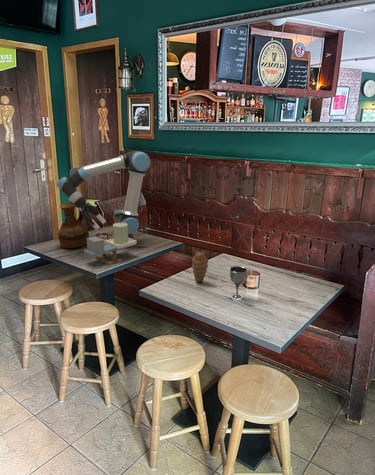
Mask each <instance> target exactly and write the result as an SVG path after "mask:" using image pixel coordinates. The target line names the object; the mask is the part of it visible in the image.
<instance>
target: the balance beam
mask: <svg viewBox="0 0 375 475" xmlns="http://www.w3.org/2000/svg"><path fill="white" fill-rule="evenodd" d="M128 241H129V242H128V243H124V244H120V245H118V244H114V238H113V237H112V238H110V239H106V240H104V238H101V237H99V236H91V237H90V236H89V238H87V243H86V245H87V246H86V247H87V249H83V253H85V254H86V255H88V256H91V257H96V256H100V255H102V254H105V253H106V254H107V253H112V250H116V251H119V250H122V249H127V248H129V247H133V246H135V245H137V239H134V240H133V239H131V238H128Z"/></svg>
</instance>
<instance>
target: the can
mask: <svg viewBox="0 0 375 475" xmlns="http://www.w3.org/2000/svg"><path fill="white" fill-rule="evenodd" d="M112 229H113V231H112V232H113V234H112V235H113V236H114V244H118V245H120V244H124V243H128V242H129V241H128V224H127V223H115V224H114V223H113V224H112Z"/></svg>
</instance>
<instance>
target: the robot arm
mask: <svg viewBox="0 0 375 475" xmlns="http://www.w3.org/2000/svg"><path fill="white" fill-rule="evenodd" d="M150 166H151V159H150V157H149V155H148V154H147V153H145V152H143V151H139V150H130V151H128V152H125V153H122V154H120V155H119V156H117V157H113V158H109V159H106V160H102V161H98V162H95V163H91V164H86V165H83V166H80V167H72V168H71V169H70V170H69V177H66V176H64V177H62V178H60V179H59V180H58V181H57V182H56V186H57V187H58V189H59V190H60V191H61V192H62V194H64V196H66V197H67V199H69V202H70V203H74V205H75V206H76V207H75V208H76V209H78V212H79V211H80V212H81V214H82V216H83V219H84V221H85V222H86V223H89V224H90V225H91V227H93V228H94V229H95V231H97V230H99V228H100V226H99V225H98V223H96V221H95V220H94V219H93V218H92V217H91V215H90V214H93V215H94V216H95V218H97V219H98V220H99V222H101V224H102V225H104V224H105V223H106V222H107V221H106V219H105V218H104V217H103V216H102V215H101V211H100V210H99V209H97V208H96V207H94V205H92V204H91V203H90V202H87V199H86V198H85V197H84V196H83V194H82V193H81V192H80V191H79V190H78V189H77V188H78V187H79V186H80V185H82V184H83V183H84V182H85V181H86V180H88V179H89V178H91V177H93V176H98V175H101V174H105V173H108V172H111V171H115V170H119V169H123V170H125V169H128V173H129V179H128V185H127V190H126V196H125V201H124V202H125V203H124V208H123V209H117V210H114V211H113V219H114V220H113V222H114V223H113V224H115V223H127V224H128V238H131V239H133V240H135V237H134V234H135V233H136V232H137V231H138V229H139V226H140V222H139V221H138V220H139V213H138V206H139V203H140V202H139V201H140V196H141V191H142V184H143V179H144V177H145V176H146V174H147V170H148V169H149V168H150ZM79 207H80V208H79ZM113 238H114V235H113V237H112V239H113Z"/></svg>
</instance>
